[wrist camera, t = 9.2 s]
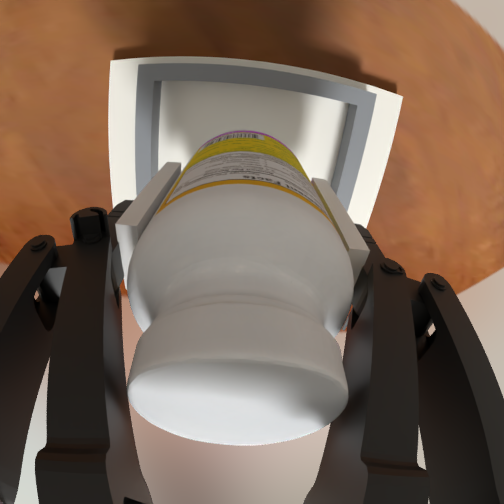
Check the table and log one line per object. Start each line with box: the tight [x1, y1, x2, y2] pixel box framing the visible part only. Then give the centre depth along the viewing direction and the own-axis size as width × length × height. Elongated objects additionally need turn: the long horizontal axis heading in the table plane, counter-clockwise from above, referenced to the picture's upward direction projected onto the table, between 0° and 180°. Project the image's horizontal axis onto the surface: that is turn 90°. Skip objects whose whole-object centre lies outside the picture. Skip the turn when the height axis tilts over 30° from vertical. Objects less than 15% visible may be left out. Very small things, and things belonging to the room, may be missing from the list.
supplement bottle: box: [127, 130, 354, 446], centre depth 11 cm, size 7×7×13 cm
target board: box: [108, 56, 403, 228], centre depth 17 cm, size 18×14×2 cm
